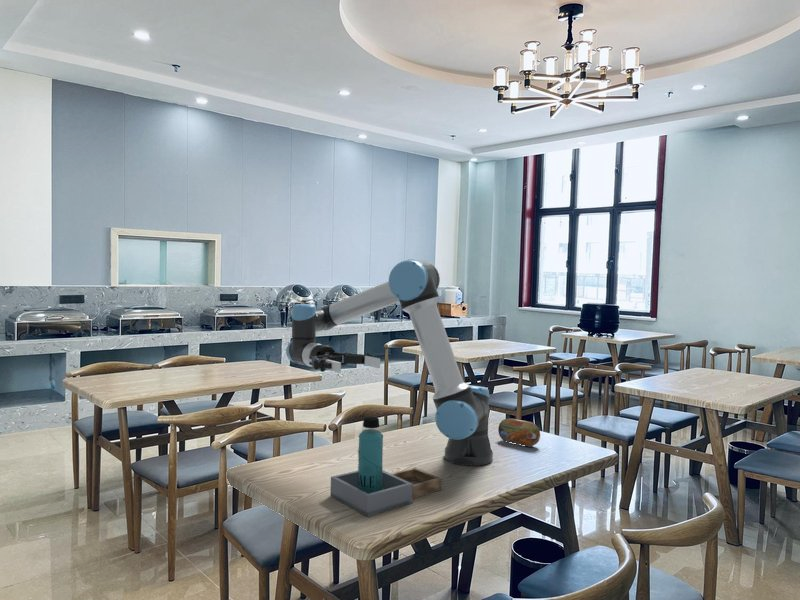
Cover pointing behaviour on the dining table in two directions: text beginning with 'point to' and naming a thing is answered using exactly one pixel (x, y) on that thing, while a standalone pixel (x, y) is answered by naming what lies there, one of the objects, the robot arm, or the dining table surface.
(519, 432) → the tin
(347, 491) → the tub
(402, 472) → the box
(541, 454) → the dining table surface
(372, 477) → the beverage bottle
